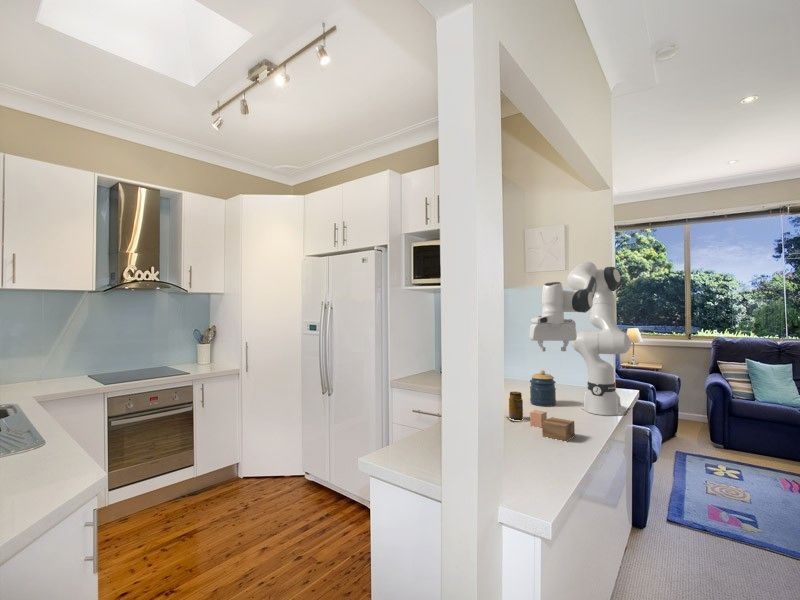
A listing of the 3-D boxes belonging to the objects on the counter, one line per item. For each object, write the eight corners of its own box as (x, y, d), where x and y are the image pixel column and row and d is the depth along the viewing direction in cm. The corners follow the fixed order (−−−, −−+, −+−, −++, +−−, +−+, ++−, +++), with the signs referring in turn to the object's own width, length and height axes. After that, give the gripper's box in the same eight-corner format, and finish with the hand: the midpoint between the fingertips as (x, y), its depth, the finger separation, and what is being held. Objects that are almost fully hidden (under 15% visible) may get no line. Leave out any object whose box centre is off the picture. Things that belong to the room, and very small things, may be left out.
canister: (561, 404, 205) (560, 370, 205) (546, 408, 197) (545, 373, 198) (540, 399, 215) (539, 367, 216) (524, 403, 208) (524, 370, 209)
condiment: (521, 416, 182) (520, 390, 183) (527, 421, 174) (527, 394, 174) (505, 417, 182) (505, 391, 182) (511, 422, 174) (510, 395, 174)
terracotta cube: (535, 423, 171) (535, 409, 171) (546, 425, 167) (546, 411, 168) (530, 426, 167) (530, 412, 168) (541, 428, 164) (541, 414, 164)
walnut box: (551, 431, 160) (551, 417, 160) (574, 436, 153) (574, 421, 154) (542, 437, 153) (542, 421, 153) (565, 442, 147) (565, 426, 147)
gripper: (571, 319, 173) (571, 350, 173) (527, 319, 171) (527, 350, 170) (579, 319, 167) (580, 351, 166) (534, 319, 165) (534, 352, 164)
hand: (553, 351), depth 168 cm, fingers open, 8 cm apart
